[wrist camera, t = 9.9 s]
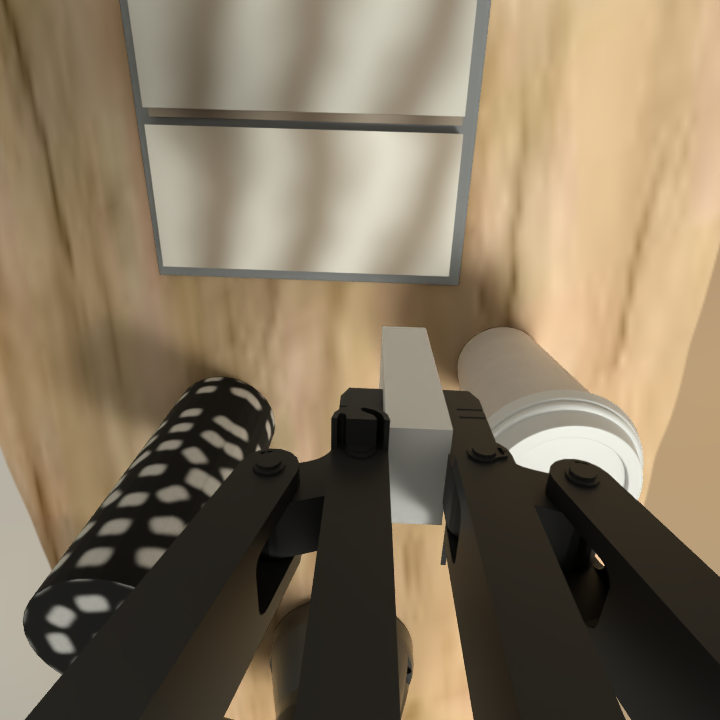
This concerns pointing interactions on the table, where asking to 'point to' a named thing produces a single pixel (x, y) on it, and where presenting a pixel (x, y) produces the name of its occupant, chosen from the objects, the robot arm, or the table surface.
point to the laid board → (305, 59)
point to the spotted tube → (146, 513)
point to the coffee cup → (547, 408)
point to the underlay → (466, 129)
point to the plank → (305, 199)
